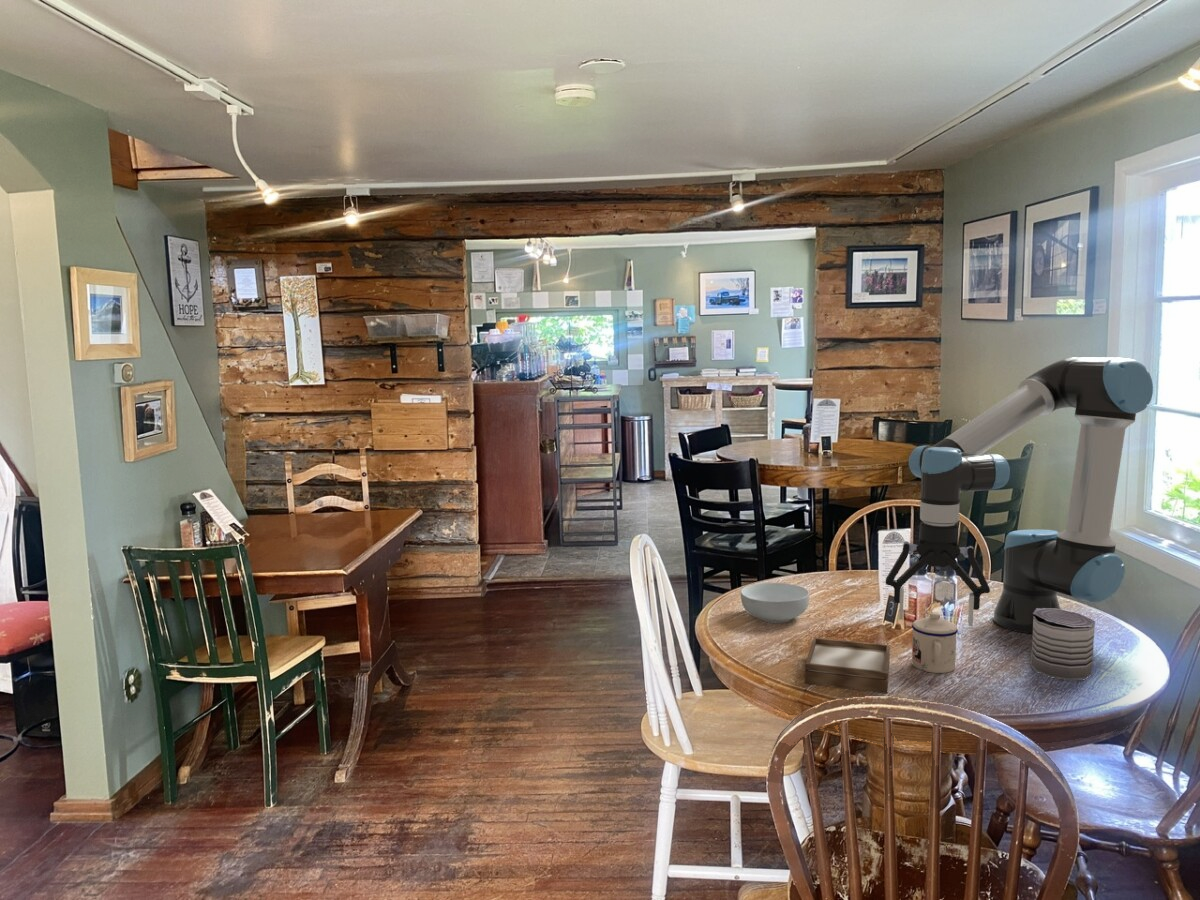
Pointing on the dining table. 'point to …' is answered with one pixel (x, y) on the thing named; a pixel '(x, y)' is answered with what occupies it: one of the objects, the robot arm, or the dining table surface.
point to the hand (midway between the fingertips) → (935, 621)
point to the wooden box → (848, 665)
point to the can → (1062, 644)
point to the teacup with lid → (934, 644)
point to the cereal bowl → (775, 601)
